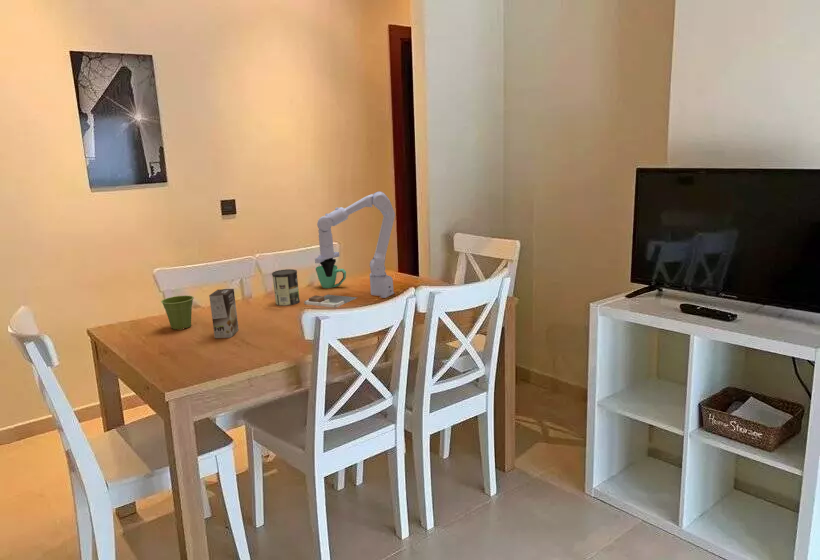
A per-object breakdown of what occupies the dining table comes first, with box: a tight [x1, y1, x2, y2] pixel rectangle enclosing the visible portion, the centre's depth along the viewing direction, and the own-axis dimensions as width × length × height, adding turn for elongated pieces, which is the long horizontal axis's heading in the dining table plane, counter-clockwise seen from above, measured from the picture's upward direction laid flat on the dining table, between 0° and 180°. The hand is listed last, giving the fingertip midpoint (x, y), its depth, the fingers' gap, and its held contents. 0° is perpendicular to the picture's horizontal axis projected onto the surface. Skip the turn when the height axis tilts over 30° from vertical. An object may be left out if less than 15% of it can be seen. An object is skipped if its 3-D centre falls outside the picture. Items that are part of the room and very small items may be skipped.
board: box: [303, 294, 358, 309], centre depth 268 cm, size 16×16×2 cm
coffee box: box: [208, 288, 239, 339], centre depth 232 cm, size 9×6×16 cm
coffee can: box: [271, 268, 301, 307], centre depth 268 cm, size 10×10×14 cm
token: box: [308, 295, 325, 302], centre depth 266 cm, size 4×4×2 cm
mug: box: [315, 264, 347, 289], centre depth 291 cm, size 15×10×10 cm
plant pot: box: [160, 295, 195, 330], centre depth 244 cm, size 12×12×11 cm
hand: (329, 276), depth 272 cm, fingers closed
